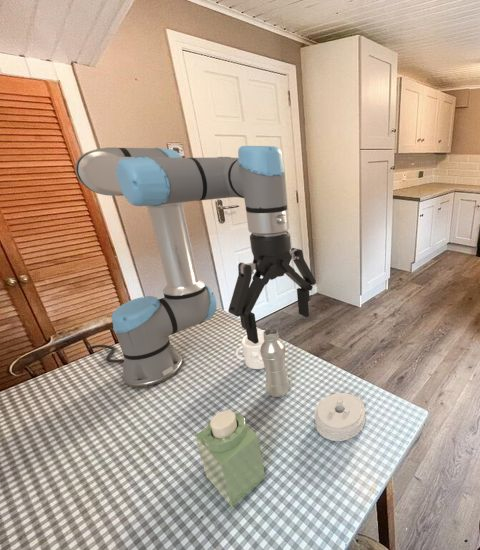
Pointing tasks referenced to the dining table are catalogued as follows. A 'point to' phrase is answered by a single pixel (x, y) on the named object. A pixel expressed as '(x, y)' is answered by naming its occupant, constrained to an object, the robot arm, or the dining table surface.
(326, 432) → the lid
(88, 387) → the dining table surface
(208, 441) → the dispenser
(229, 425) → the beige short cylinder
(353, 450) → the dining table surface
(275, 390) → the plastic bottle
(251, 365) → the mug
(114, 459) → the dining table surface
